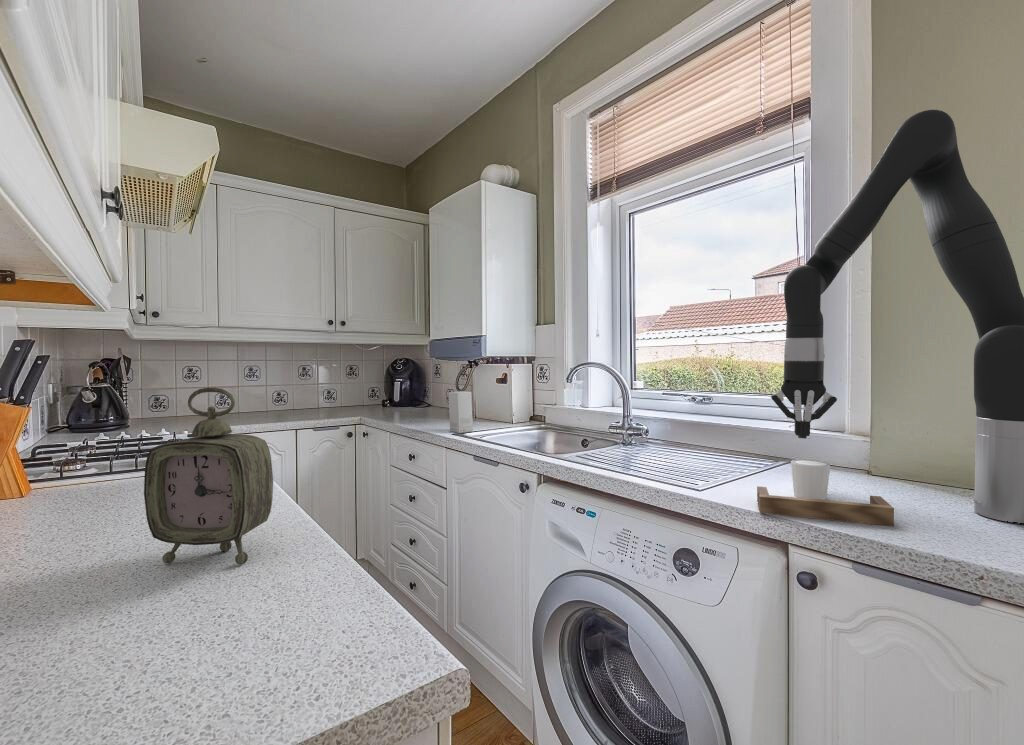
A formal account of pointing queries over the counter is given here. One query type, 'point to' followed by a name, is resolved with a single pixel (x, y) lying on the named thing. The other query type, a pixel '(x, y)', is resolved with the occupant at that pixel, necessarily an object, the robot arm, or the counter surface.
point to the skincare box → (460, 411)
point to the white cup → (810, 479)
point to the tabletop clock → (208, 485)
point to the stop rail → (827, 508)
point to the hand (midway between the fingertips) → (801, 437)
